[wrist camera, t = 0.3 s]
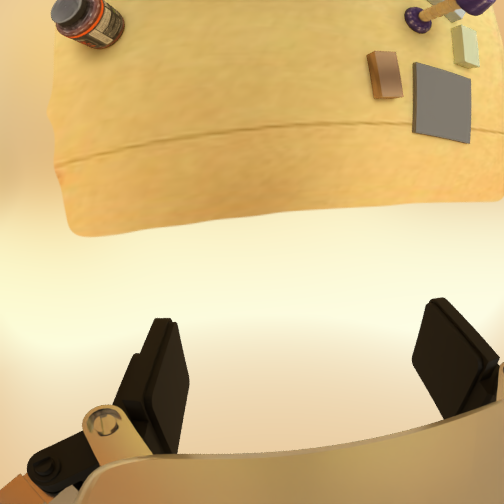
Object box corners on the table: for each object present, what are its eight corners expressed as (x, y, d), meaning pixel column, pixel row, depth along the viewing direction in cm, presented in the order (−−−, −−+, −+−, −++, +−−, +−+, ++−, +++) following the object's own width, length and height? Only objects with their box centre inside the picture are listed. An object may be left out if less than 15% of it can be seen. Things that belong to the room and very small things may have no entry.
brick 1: (366, 55, 33) (374, 51, 30) (386, 56, 33) (395, 52, 30) (373, 98, 35) (382, 96, 32) (393, 98, 35) (403, 96, 32)
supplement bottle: (79, 42, 31) (33, 24, 20) (102, 6, 29) (63, -21, 19) (109, 56, 32) (67, 37, 22) (134, 19, 30) (99, -11, 20)
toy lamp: (430, 40, 31) (506, 15, 16) (402, 31, 31) (474, -3, 16) (428, 12, 30) (498, -20, 14) (400, 3, 29) (466, -38, 14)
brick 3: (450, 28, 30) (461, 24, 28) (465, 34, 30) (476, 31, 28) (453, 63, 33) (464, 61, 30) (467, 68, 33) (479, 66, 30)
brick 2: (421, -4, 29) (431, -10, 26) (428, -14, 28) (437, -20, 25) (451, 22, 30) (461, 18, 27) (456, 12, 29) (467, 8, 26)
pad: (412, 63, 33) (416, 62, 32) (466, 79, 33) (470, 79, 32) (412, 132, 37) (415, 132, 36) (465, 143, 37) (469, 143, 36)
